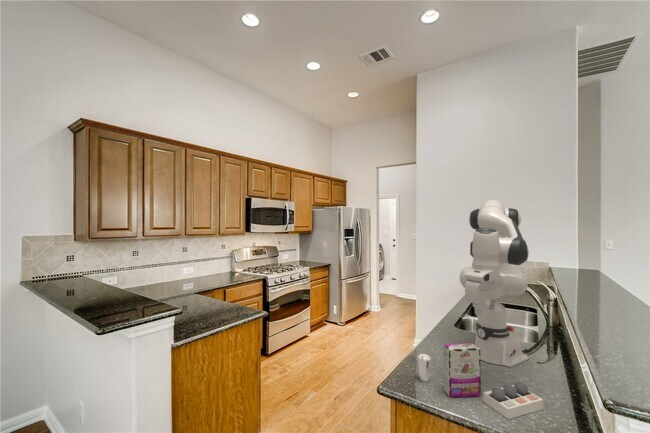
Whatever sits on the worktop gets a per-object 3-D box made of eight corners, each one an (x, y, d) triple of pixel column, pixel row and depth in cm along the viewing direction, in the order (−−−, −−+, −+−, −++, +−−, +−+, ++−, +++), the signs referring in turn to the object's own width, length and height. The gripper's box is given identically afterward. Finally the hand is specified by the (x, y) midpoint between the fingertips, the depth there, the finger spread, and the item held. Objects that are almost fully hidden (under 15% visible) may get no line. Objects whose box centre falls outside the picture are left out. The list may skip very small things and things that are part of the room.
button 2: (519, 390, 100) (519, 381, 100) (530, 396, 97) (530, 387, 97) (511, 392, 99) (511, 383, 99) (522, 398, 95) (522, 389, 95)
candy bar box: (472, 388, 104) (473, 342, 105) (481, 397, 99) (481, 348, 100) (442, 389, 104) (442, 343, 104) (449, 398, 99) (449, 349, 99)
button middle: (508, 392, 99) (508, 383, 99) (519, 399, 95) (519, 390, 95) (500, 395, 97) (500, 385, 97) (510, 401, 94) (510, 392, 94)
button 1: (497, 395, 97) (497, 386, 97) (508, 402, 93) (508, 393, 93) (488, 397, 96) (488, 388, 96) (499, 404, 92) (499, 395, 92)
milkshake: (415, 381, 109) (415, 354, 109) (419, 374, 113) (419, 348, 113) (428, 385, 106) (428, 357, 106) (431, 378, 111) (432, 352, 111)
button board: (516, 393, 102) (516, 383, 102) (543, 409, 93) (543, 398, 93) (483, 401, 97) (483, 391, 97) (508, 419, 89) (508, 408, 89)
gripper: (491, 270, 114) (490, 305, 114) (461, 274, 102) (461, 314, 102) (508, 272, 109) (508, 310, 108) (479, 277, 97) (479, 319, 97)
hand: (485, 312), depth 105 cm, fingers open, 8 cm apart
